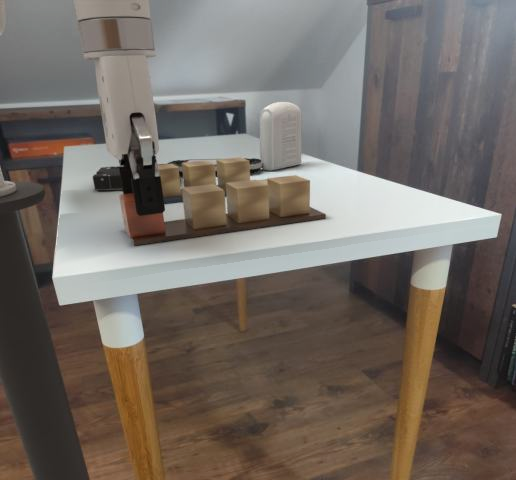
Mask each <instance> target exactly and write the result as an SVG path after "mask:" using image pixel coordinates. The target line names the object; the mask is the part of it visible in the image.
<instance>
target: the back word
mask: <svg viewBox="0 0 516 480" xmlns="http://www.w3.org/2000/svg"><path fill="white" fill-rule="evenodd" d="M216 159H217V160H216V163H217V175H216V174H215V164H213V163H211V162H209V161H196V162H185V163H182V170H183V176H182V179H183V187H193V186H202V185H211V184H215V185H216V186H218V187H220V188H221V189H223V190H224V191H225V197H227V196H226V183H229V182H238V181H247V180H251V174H250V163H249V160H246V159H243V157H241V156H240V157H228V158H216ZM163 164H164V165H158V168H159V174H160V176H161V184H162V191H163V199H164V205H165V204H173V203H181V202H182V203H183V195H182V187H181V179H180V177H181V176H179V168H178V167H177V166H175V165H173V164H167V163H163ZM216 176H217V177H216ZM257 180H258V181H260V182H263V183H265V184H267V178H266V179H257Z"/></svg>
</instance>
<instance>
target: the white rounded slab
mask: <svg viewBox="0 0 516 480" xmlns="http://www.w3.org/2000/svg"><path fill="white" fill-rule="evenodd" d="M302 115H303V114H302V111H301V108H300V107H299V106H298V105H296V104H295V103H293V102H289V101H277V102H273V103H271V104H269V105H266V106H265V107H264V108H262V109H261V111H260V114H259V120H258V121H259V159H260V160H261V161H262V167H261V168H260V169H261V170H262V171H270V172H271V171H276V170H281V169H284V168H285V169H286V168H289V167H290V168H291V167H294V166H299V165H301V163H302V130H303V129H302V126H303V125H302V124H303V120H302V119H303V116H302Z"/></svg>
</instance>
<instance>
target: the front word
mask: <svg viewBox="0 0 516 480" xmlns="http://www.w3.org/2000/svg"><path fill="white" fill-rule="evenodd" d="M266 179H267V184H265V183H263V182H260V181H258V180H259V179H250V180H247V181H238V182H229V183H226V196H225V191H224V190H223V189H221V188H220V187H218V186H216V185H217V184H216V185H215V184H211V185H202V186H193V187H184V186H183V187H181V189H182V195H183V201H182V203H183V213H184V218H182V219H175V220H165V221H164V224H165V232H166V233H164V234H157V235H150V236H142V237H135V238H130V237H129V235H128V233H127V232H126V230H125V229H124V230H125V232H126V234H127V236H128V237H129V239H130V241H131V243H132V244H133V246H134V247H135V246H141V245H142V246H143V245H150V244H157V243H162V242H169V241H170V242H171V241H177V240H184V239H191V238H198V237H205V236H212V235H219V234H227V233H233V232H240V231H247V230H253V229H262V228H268V227H274V226H281V225H289V224H295V223H303V222H310V221H317V220H323V219H326V216H327V214H326V213H325V212H322V211H320V210H318V209H315V208H313V207H311V205H310V204H311V180H310V179H308V178H304V177H302V176H299V175H297V174H294V175H293V174H292V175H285V176H276V177H275V176H274V177H268V178H266Z"/></svg>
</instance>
